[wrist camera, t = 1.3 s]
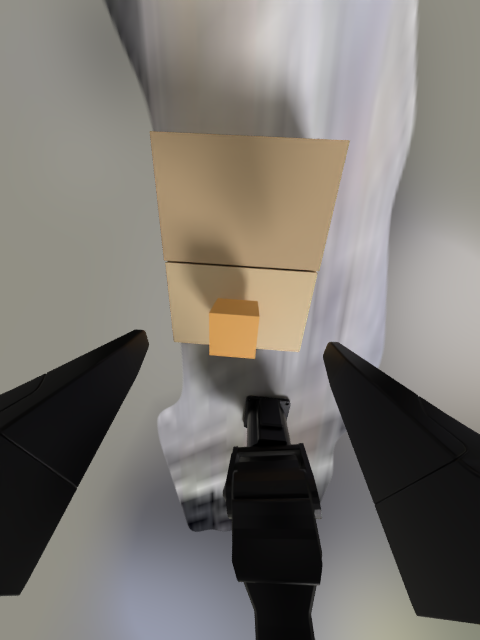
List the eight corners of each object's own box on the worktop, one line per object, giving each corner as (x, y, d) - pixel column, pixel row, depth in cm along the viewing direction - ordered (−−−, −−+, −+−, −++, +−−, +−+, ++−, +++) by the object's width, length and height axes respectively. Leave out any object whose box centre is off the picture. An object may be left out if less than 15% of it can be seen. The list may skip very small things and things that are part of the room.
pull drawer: (297, 348, 17) (315, 388, 12) (176, 338, 17) (148, 374, 13) (315, 271, 14) (346, 286, 9) (168, 261, 14) (129, 271, 10)
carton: (288, 326, 22) (299, 353, 17) (191, 319, 22) (173, 342, 17) (317, 173, 16) (349, 140, 10) (182, 166, 16) (149, 131, 11)
